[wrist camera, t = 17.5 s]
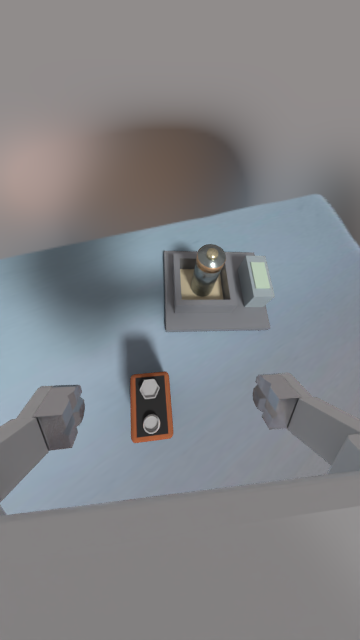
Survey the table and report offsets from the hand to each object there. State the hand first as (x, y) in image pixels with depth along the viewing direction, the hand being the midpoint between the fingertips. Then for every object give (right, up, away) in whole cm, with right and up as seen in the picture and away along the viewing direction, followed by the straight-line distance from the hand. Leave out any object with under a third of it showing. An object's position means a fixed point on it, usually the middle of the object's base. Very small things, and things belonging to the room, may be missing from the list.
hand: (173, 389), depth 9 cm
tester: (+7, +9, +28) cm, 30 cm away
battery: (-4, -9, +21) cm, 23 cm away
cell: (+4, +9, +27) cm, 29 cm away
